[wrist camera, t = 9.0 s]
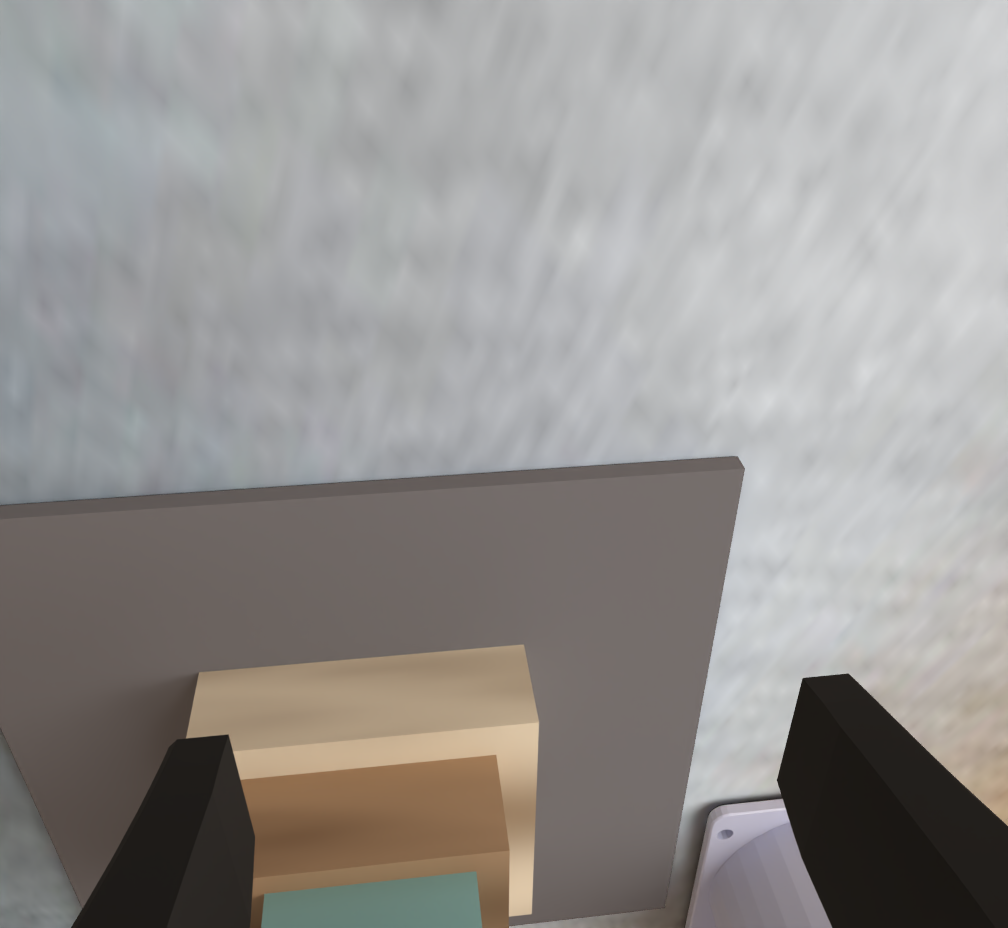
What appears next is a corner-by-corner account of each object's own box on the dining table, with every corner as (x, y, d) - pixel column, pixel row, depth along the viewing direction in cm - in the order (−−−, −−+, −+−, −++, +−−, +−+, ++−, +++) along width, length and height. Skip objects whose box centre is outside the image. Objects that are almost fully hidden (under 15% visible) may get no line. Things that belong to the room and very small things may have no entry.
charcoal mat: (660, 893, 32) (664, 907, 31) (115, 957, 30) (111, 972, 29) (737, 456, 22) (744, 468, 21) (-82, 511, 20) (-92, 525, 19)
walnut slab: (496, 897, 25) (507, 992, 23) (271, 923, 25) (263, 1022, 23) (495, 754, 22) (509, 850, 20) (235, 780, 21) (221, 881, 19)
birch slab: (519, 834, 28) (531, 914, 26) (248, 863, 27) (239, 948, 25) (523, 644, 23) (539, 722, 21) (199, 672, 23) (182, 756, 21)
